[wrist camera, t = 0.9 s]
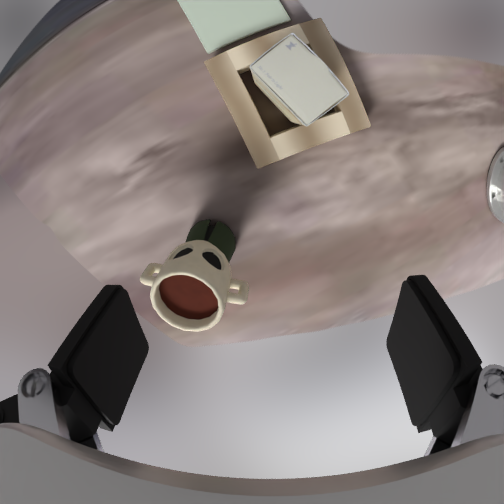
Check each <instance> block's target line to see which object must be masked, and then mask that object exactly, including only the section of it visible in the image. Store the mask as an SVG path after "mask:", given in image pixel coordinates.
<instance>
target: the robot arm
mask: <svg viewBox="0 0 504 504" xmlns="http://www.w3.org/2000/svg"><path fill="white" fill-rule="evenodd" d="M487 200H488V205H489V208H490V210H491V212H492V214H493V215H494V216H495V217H496V218H497V219H498V220H500V221H501V222H503V223H504V147H503V148H501V149H500V150H499V151H498V152H497V154H496V155H495V157H494V159H493V161H492V163H491V166H490V169H489V173H488V178H487ZM387 349H388V352H389V355H390V358H391V360H392V363H393V366H394V369H395V372H396V374H397V377H398V380H399V383H400V386H401V390H402V393H403V395H404V399H405V402H406V405H407V408H408V412H409V415H410V419H411V422H412V424H413V425H414V426H417V429H418V433H420V432H423V431H427V430H430V429H432V432H433V439H432V441H431V443H430V445H429V447H428V449H427V451H426V453H425V455H424V457H421V458H417V459H414V460H410V461H406V462H402V463H398V464H394V465H390V466H385V467H381V468H376V469H372V470H366V471H360V472H355V473H348V474H341V475H333V476H324V477H312V478H296V479H245V478H229V477H218V476H209V475H201V474H194V473H187V472H181V471H176V470H170V469H165V468H160V467H155V466H151V465H147V464H143V463H139V462H135V461H131V460H128V459H124V458H120V457H117V456H114V455H110V454H108V453H105V452H104V450H103V447H102V445H101V442H100V439H99V437H98V434H97V429H98V426H99V427H100V428H102V429H105V430H108V431H113V429H114V427H115V425H118V424H119V422H120V420H121V417H122V414H123V412H124V409H125V406H126V404H127V402H128V399H129V397H130V394H131V392H132V389H133V387H134V385H135V382H136V380H137V377H138V375H139V372H140V370H141V368H142V365H143V363H144V361H145V358H146V356H147V354H148V350H149V346H148V342H147V340H146V338H145V335H144V333H143V330H142V328H141V326H140V323H139V321H138V318H137V316H136V313H135V311H134V308H133V305H132V303H131V300H130V297H129V295H128V292H127V291H126V290H125V289H124V288H123V287H122V286H121V285H106V286H104V287H103V289H102V290H101V291H100V293H99V294H98V295H97V297H96V298H95V299H94V300H93V302H92V303H91V304H90V306H89V307H88V308H87V310H86V311H85V312H84V314H83V315H82V316H81V318H80V319H79V320H78V322H77V323H76V325H75V326H74V327H73V329H72V330H71V332H70V333H69V335H68V336H67V337H66V339H65V340H64V342H63V343H62V345H61V346H60V347H59V349H58V351H57V352H56V353H55V355H54V356H53V358H52V360H51V361H50V363H49V364H48V366H49V368H50V369H51V373H50V374H49V373H48V372H47V371H46V370H44V369H42V368H37V369H33V370H31V371H29V372H28V373H26V374H25V375H24V376H23V378H22V379H21V380H20V383H19V386H18V394H17V395H14V396H12V397H10V398H8V399H5V400H3V401H1V402H0V504H504V367H502V366H500V365H495V364H494V365H489V366H486V367H485V368H484V369H482V367H481V363H482V361H481V359H480V357H479V356H478V354H477V352H476V350H475V349H474V347H473V345H472V344H471V342H470V340H469V339H468V337H467V335H466V334H465V332H464V330H463V329H462V327H461V326H460V324H459V323H458V321H457V320H456V318H455V316H454V315H453V313H452V312H451V311H450V309H449V308H448V306H447V305H446V304H445V302H444V300H443V299H442V297H441V296H440V295H439V293H438V292H437V290H436V289H435V288H434V286H433V285H432V283H431V282H430V281H429V279H428V278H427V277H426V276H425V275H415V276H409V277H408V278H407V280H406V281H404V282H403V283H402V287H401V291H400V295H399V299H398V303H397V306H396V310H395V314H394V317H393V321H392V324H391V327H390V331H389V334H388V337H387Z"/></svg>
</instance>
